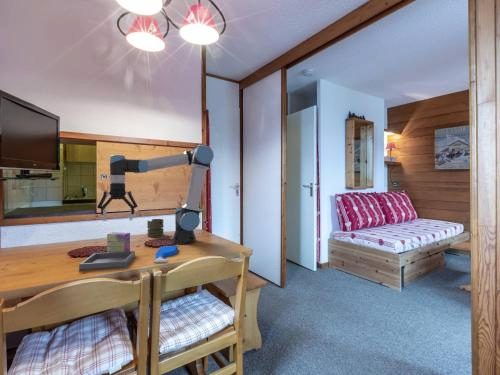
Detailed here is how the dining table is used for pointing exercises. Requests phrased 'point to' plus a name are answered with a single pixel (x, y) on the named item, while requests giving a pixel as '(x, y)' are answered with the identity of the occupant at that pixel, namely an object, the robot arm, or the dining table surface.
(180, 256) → the dining table surface
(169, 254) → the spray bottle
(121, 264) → the tray
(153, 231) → the dark green block
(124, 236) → the box
